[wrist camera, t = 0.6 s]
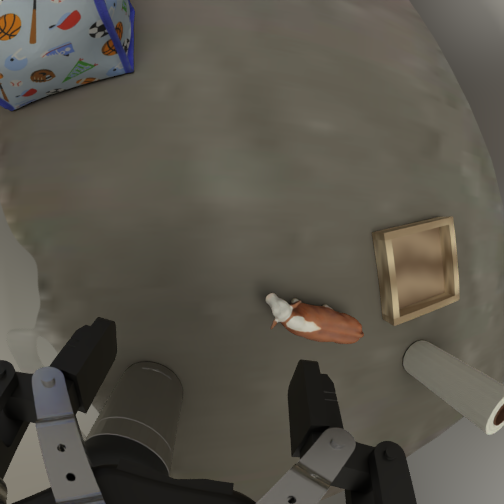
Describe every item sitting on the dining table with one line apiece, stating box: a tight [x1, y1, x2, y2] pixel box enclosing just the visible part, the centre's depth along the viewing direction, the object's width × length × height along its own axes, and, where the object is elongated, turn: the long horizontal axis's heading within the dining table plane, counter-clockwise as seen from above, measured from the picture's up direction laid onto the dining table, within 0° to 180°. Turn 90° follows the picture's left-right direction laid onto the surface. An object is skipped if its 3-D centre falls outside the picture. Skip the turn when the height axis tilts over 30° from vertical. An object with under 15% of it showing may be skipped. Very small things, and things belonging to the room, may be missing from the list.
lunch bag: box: [0, 0, 135, 111], centre depth 21 cm, size 23×17×27 cm
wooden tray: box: [372, 217, 459, 326], centre depth 41 cm, size 13×13×4 cm
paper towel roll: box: [403, 340, 504, 435], centre depth 34 cm, size 7×6×21 cm
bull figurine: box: [265, 293, 364, 344], centre depth 37 cm, size 4×13×8 cm, turn 68°
